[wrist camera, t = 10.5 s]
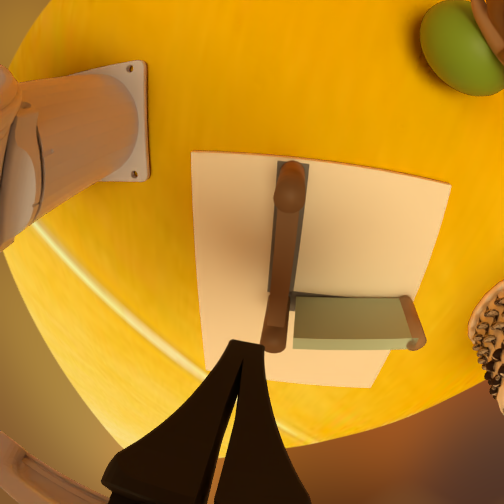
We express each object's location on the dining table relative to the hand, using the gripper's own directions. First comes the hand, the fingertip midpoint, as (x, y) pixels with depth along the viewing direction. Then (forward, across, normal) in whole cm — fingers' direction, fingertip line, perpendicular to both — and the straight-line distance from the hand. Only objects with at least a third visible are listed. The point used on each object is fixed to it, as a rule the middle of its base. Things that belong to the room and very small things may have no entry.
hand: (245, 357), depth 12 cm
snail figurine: (+10, -9, -15) cm, 20 cm away
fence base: (+9, -1, -1) cm, 9 cm away
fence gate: (+9, -7, +3) cm, 11 cm away
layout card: (+9, -3, +4) cm, 11 cm away
